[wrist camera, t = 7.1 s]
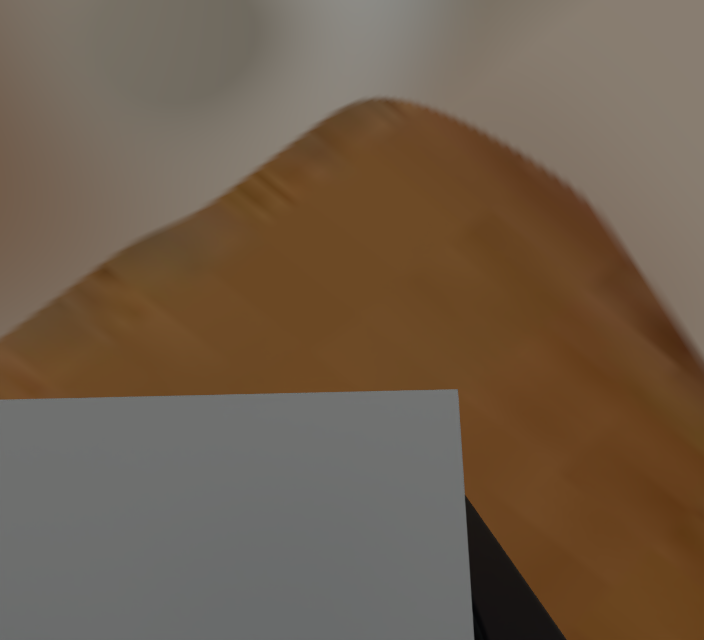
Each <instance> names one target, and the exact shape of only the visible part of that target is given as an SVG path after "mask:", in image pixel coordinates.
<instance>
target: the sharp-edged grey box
mask: <svg viewBox="0 0 704 640" xmlns="http://www.w3.org/2000/svg"><path fill="white" fill-rule="evenodd" d="M0 640H474V629H473V613H472V598H471V583H470V568H469V553H468V537H467V522H466V507H465V492H464V477H463V461H462V446H461V431H460V416H459V400H458V389H456V390H412V391H368V392H324V393H281V394H237V395H193V396H149V397H106V398H62V399H18V400H0Z"/></svg>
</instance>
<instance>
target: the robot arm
mask: <svg viewBox="0 0 704 640" xmlns="http://www.w3.org/2000/svg"><path fill="white" fill-rule="evenodd" d="M465 507H466V522H467V537H468V553H469V568H470V583H471V598H472V613H473V629H474V640H566V638H565V637H564V635H563V634H562V632H561V631H560V630H559V628H558V627H557V625H556V624H555V622H554V621H553V620H552V618H551V617H550V615H549V614H548V613H547V611H546V610H545V608H544V607H543V605H542V604H541V603H540V601H539V600H538V598H537V597H536V595H535V594H534V593H533V591H532V590H531V588H530V587H529V585H528V584H527V583H526V581H525V580H524V578H523V577H522V575H521V574H520V573H519V571H518V570H517V568H516V567H515V565H514V564H513V563H512V561H511V560H510V558H509V557H508V555H507V554H506V553H505V551H504V550H503V548H502V547H501V545H500V544H499V543H498V541H497V540H496V538H495V537H494V535H493V534H492V533H491V531H490V530H489V528H488V527H487V526H486V524H485V523H484V521H483V520H482V518H481V517H480V516H479V514H478V513H477V511H476V510H475V508H474V507H473V506H472V504H471V503H470V501H469V500H468V498H467V497H466V496H465Z"/></svg>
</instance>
